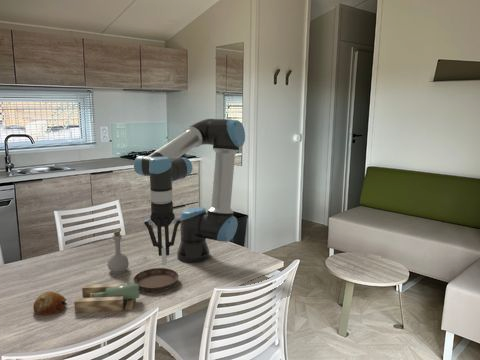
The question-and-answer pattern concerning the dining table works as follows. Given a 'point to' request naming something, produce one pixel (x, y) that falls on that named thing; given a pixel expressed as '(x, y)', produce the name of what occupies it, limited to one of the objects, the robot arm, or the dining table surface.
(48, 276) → the dining table surface
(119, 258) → the potion bottle
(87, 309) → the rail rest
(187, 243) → the robot arm
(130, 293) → the bottle
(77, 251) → the dining table surface
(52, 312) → the bread roll
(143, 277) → the plant saucer
